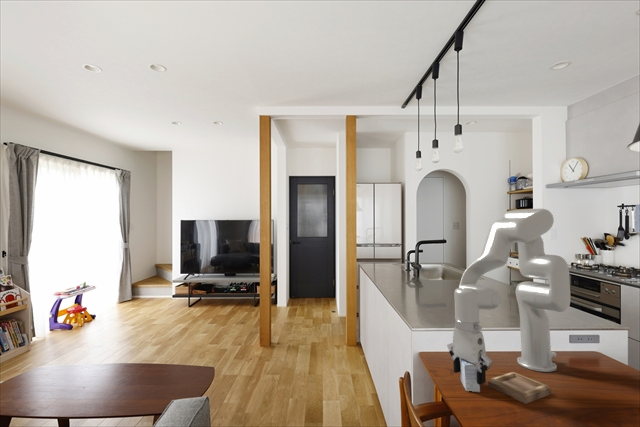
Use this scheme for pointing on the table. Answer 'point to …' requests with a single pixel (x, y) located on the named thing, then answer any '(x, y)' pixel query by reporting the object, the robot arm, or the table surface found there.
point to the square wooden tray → (519, 387)
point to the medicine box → (469, 376)
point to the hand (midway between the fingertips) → (469, 377)
